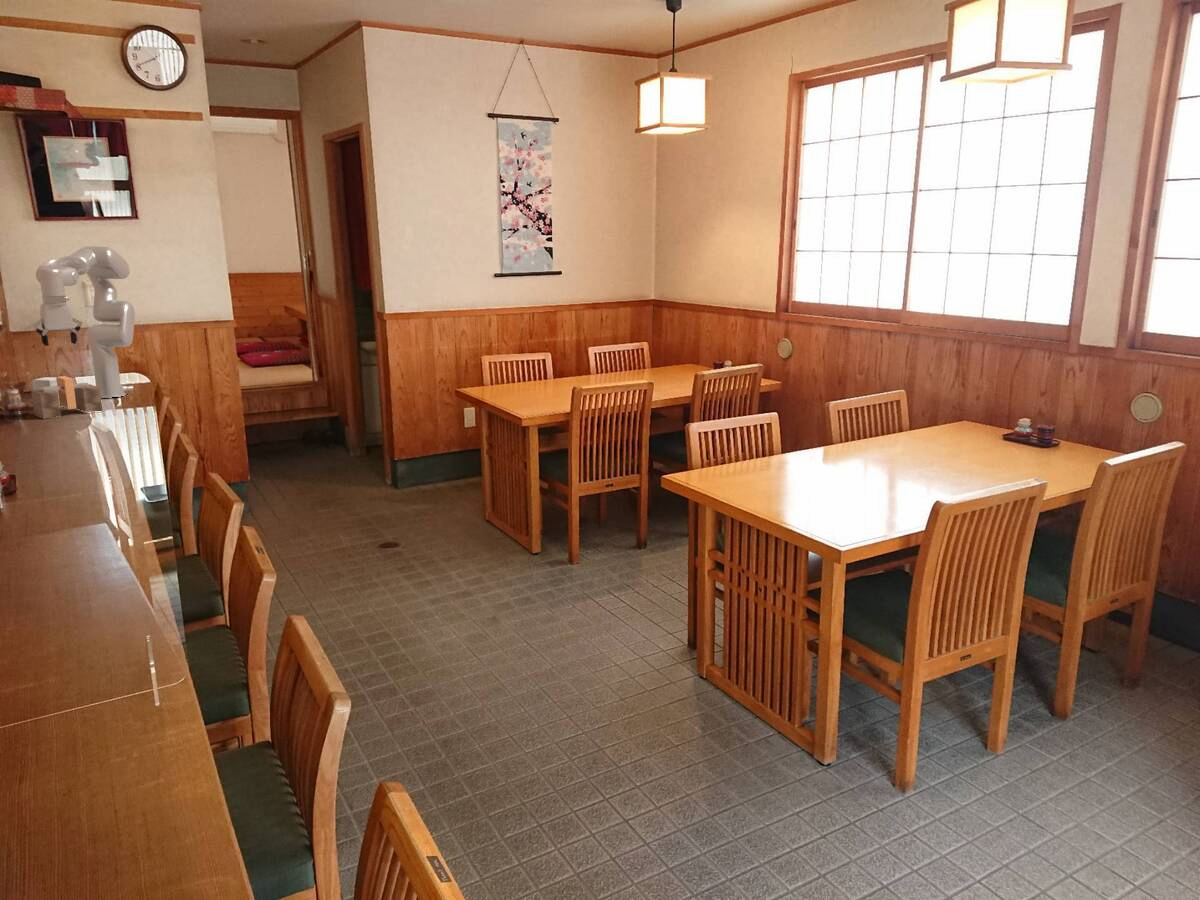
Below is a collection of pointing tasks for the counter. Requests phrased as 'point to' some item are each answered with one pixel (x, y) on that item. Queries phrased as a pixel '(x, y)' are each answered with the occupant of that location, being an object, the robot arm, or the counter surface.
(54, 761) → the counter surface
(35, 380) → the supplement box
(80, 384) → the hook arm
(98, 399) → the shelf
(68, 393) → the orange wooden block
